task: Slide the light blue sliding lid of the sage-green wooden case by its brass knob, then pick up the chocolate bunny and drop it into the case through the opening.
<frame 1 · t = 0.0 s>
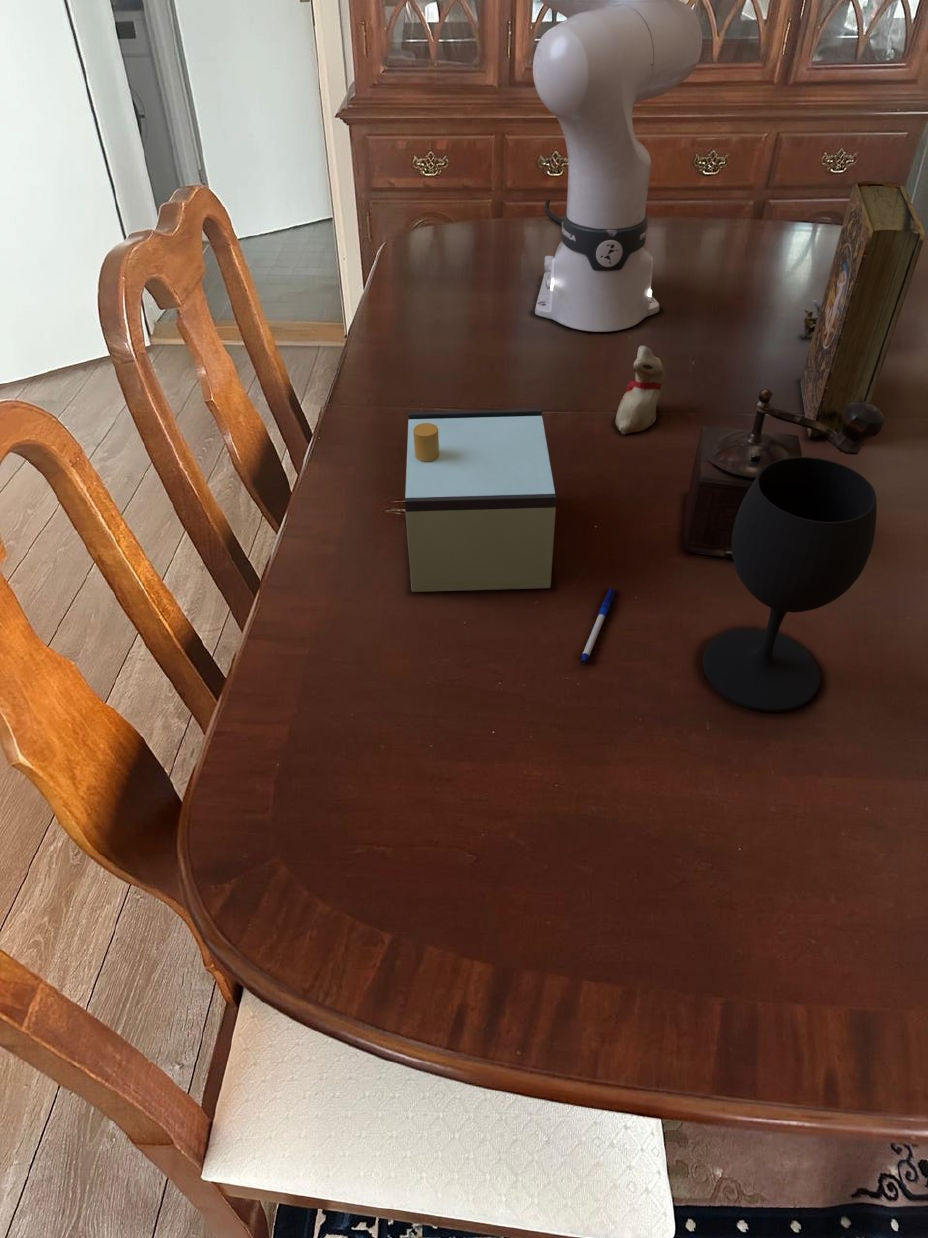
chocolate bunny: (636, 420, 113), on the table
ballpoint pen: (598, 628, 86), on the table
case: (478, 540, 96), on the table
book: (825, 411, 114), on the table
wine glass: (759, 671, 81), on the table
eagle figurine: (831, 344, 127), on the table
vintage coffee grinder: (756, 534, 96), on the table
light blue sliding lid: (477, 443, 87), point 12 cm above the table, slide at 0.0 cm
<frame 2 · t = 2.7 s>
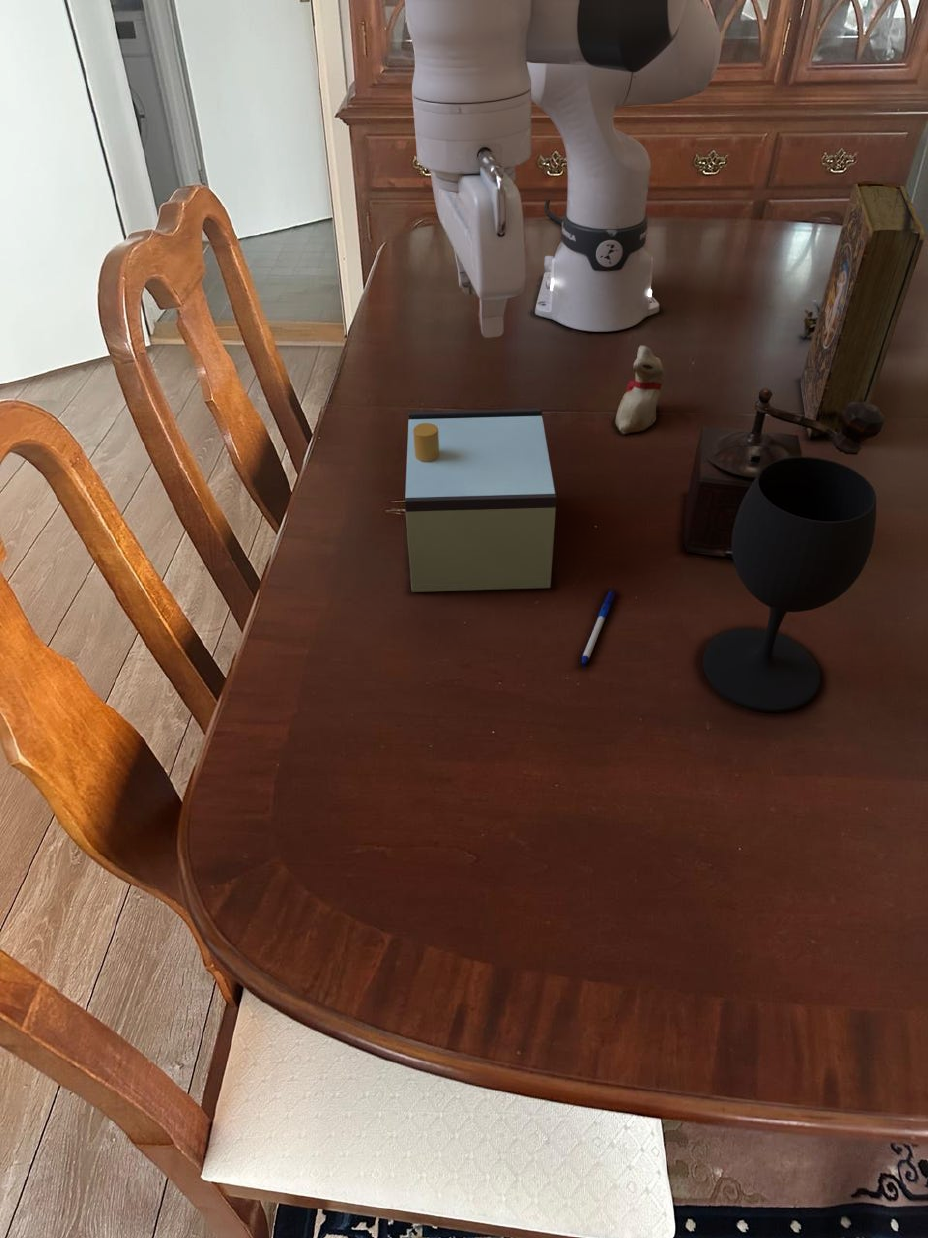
hand: (480, 311, 77), 26 cm above the table, tool pointing down, fingers open, 8 cm apart
nothing on the table moved.
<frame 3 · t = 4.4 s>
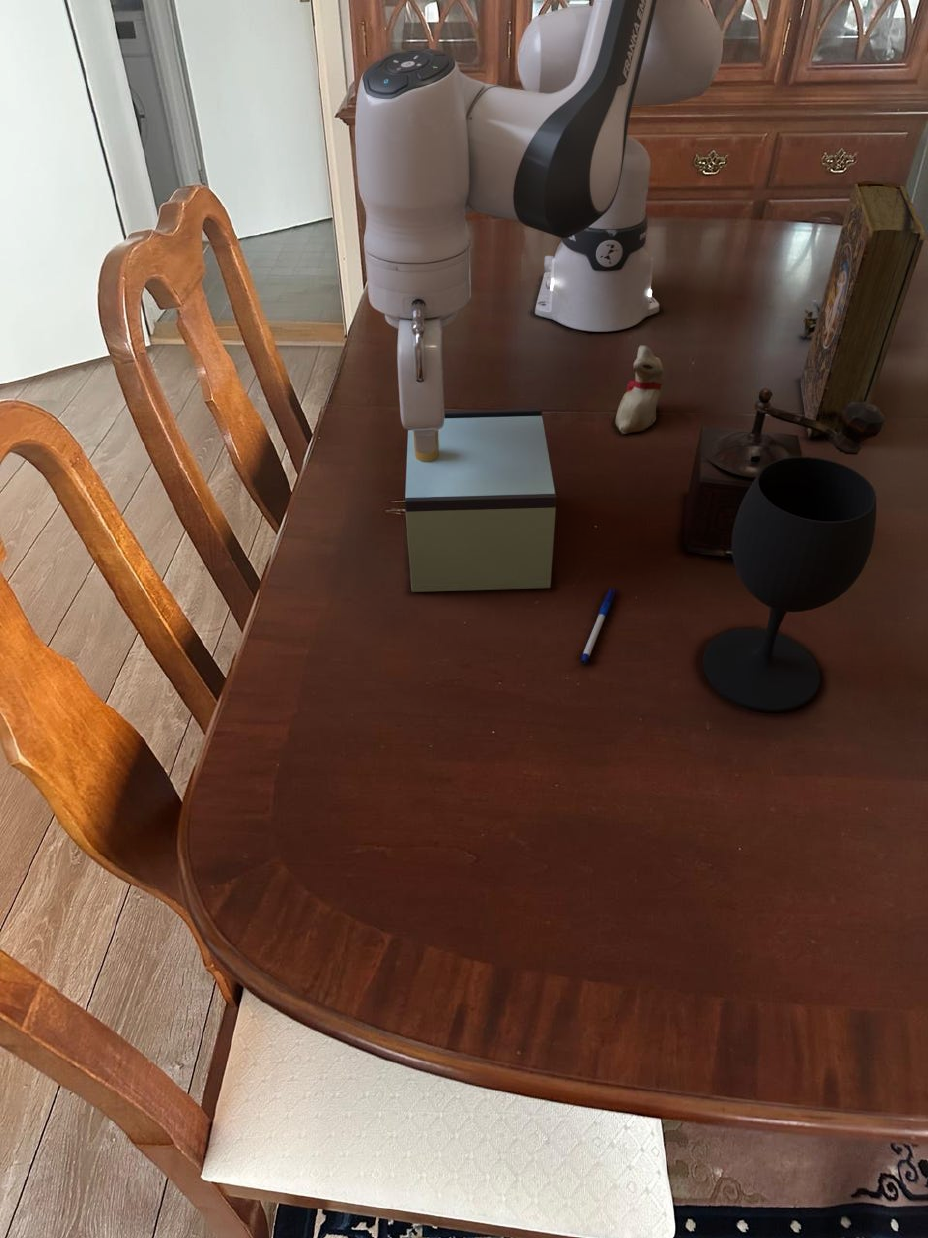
hand: (426, 421, 85), 15 cm above the table, tool pointing down, fingers open, 8 cm apart
nothing on the table moved.
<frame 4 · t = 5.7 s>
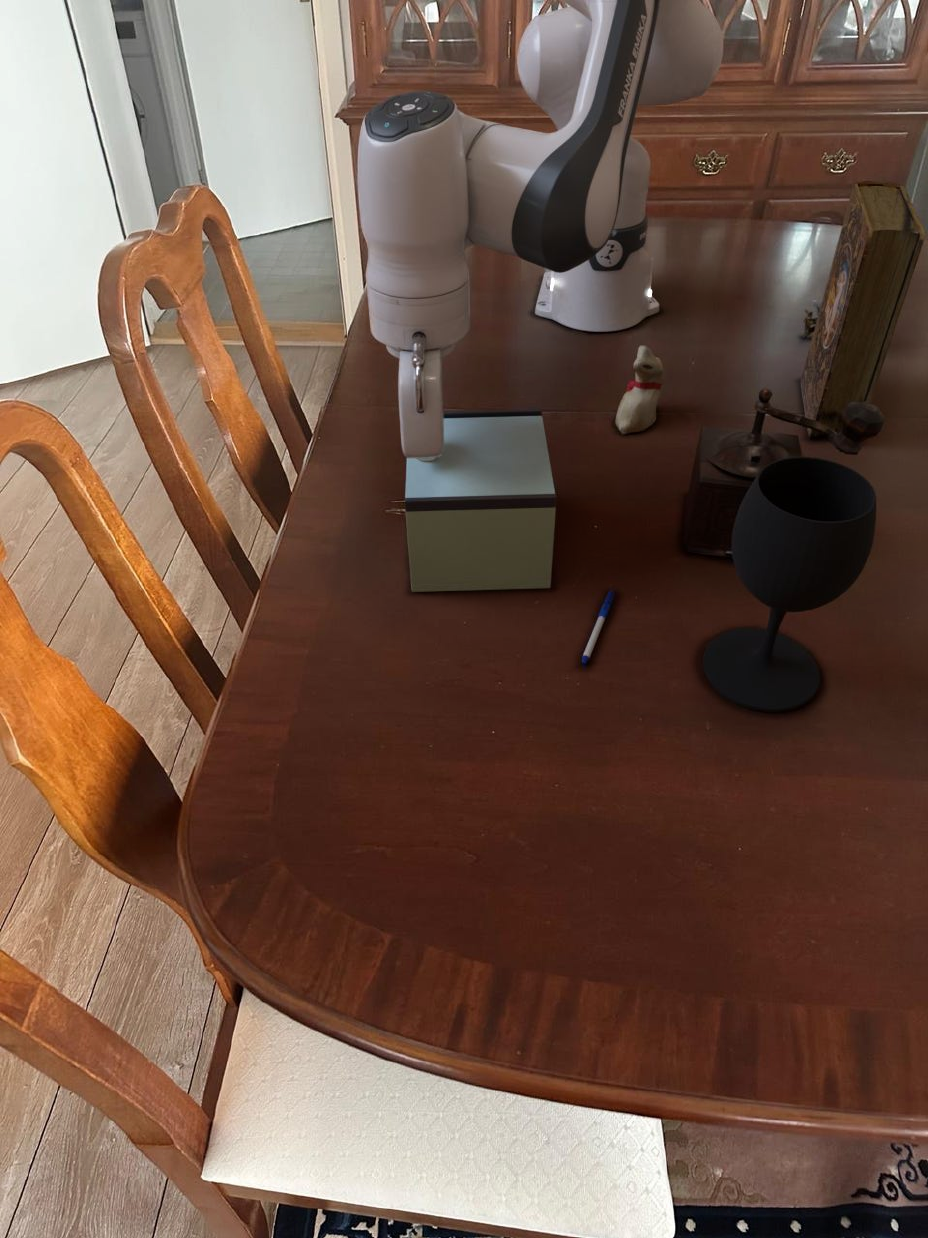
hand: (426, 445, 87), 12 cm above the table, tool pointing down, fingers closed on light blue sliding lid, 2 cm apart
light blue sliding lid: (477, 443, 87), point 12 cm above the table, slide at 0.0 cm, touching gripper
everything else where it was.
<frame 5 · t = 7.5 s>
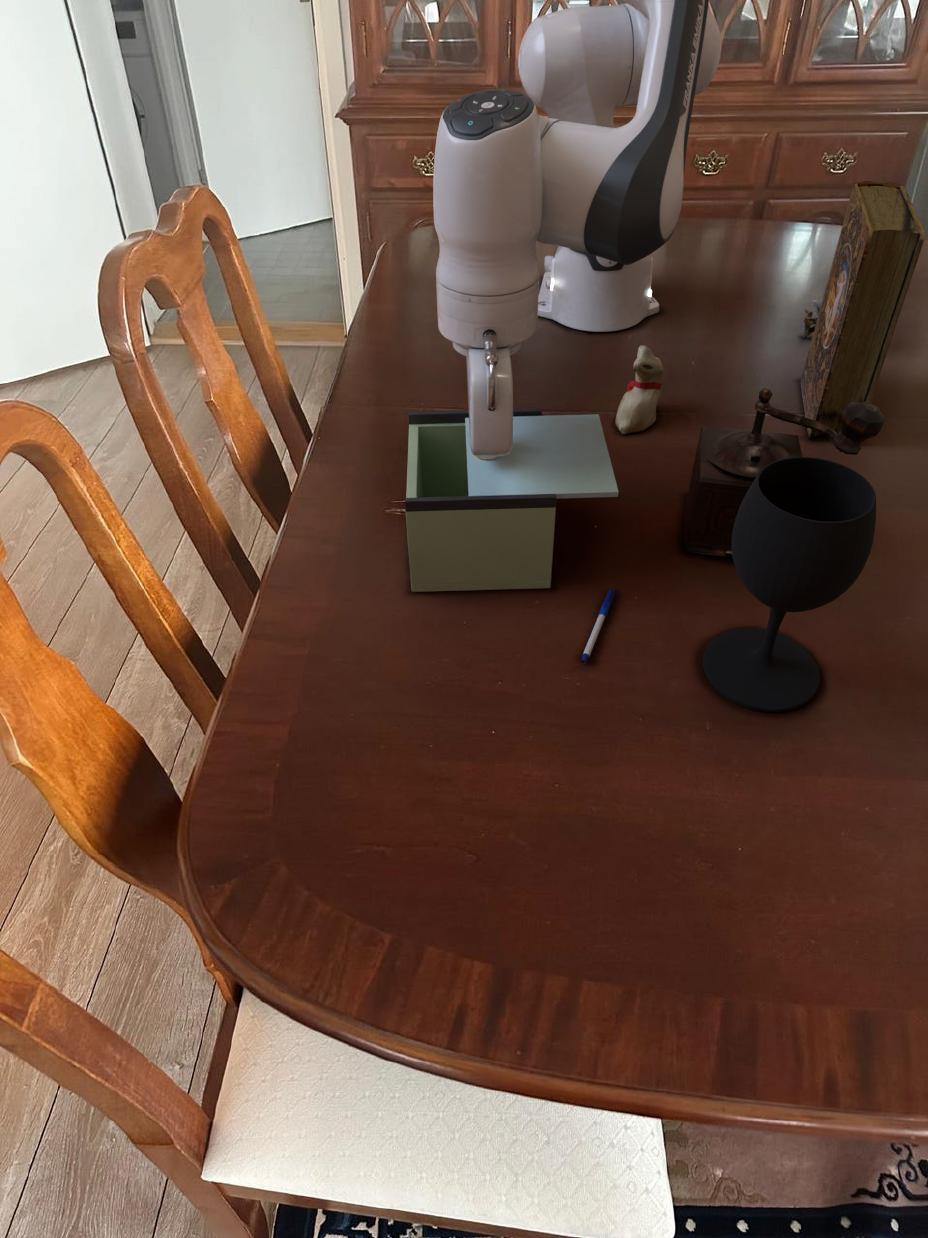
hand: (487, 444, 87), 12 cm above the table, tool pointing down, fingers closed on light blue sliding lid, 2 cm apart
light blue sliding lid: (538, 442, 87), point 12 cm above the table, slide at 5.9 cm, touching gripper
everything else where it was.
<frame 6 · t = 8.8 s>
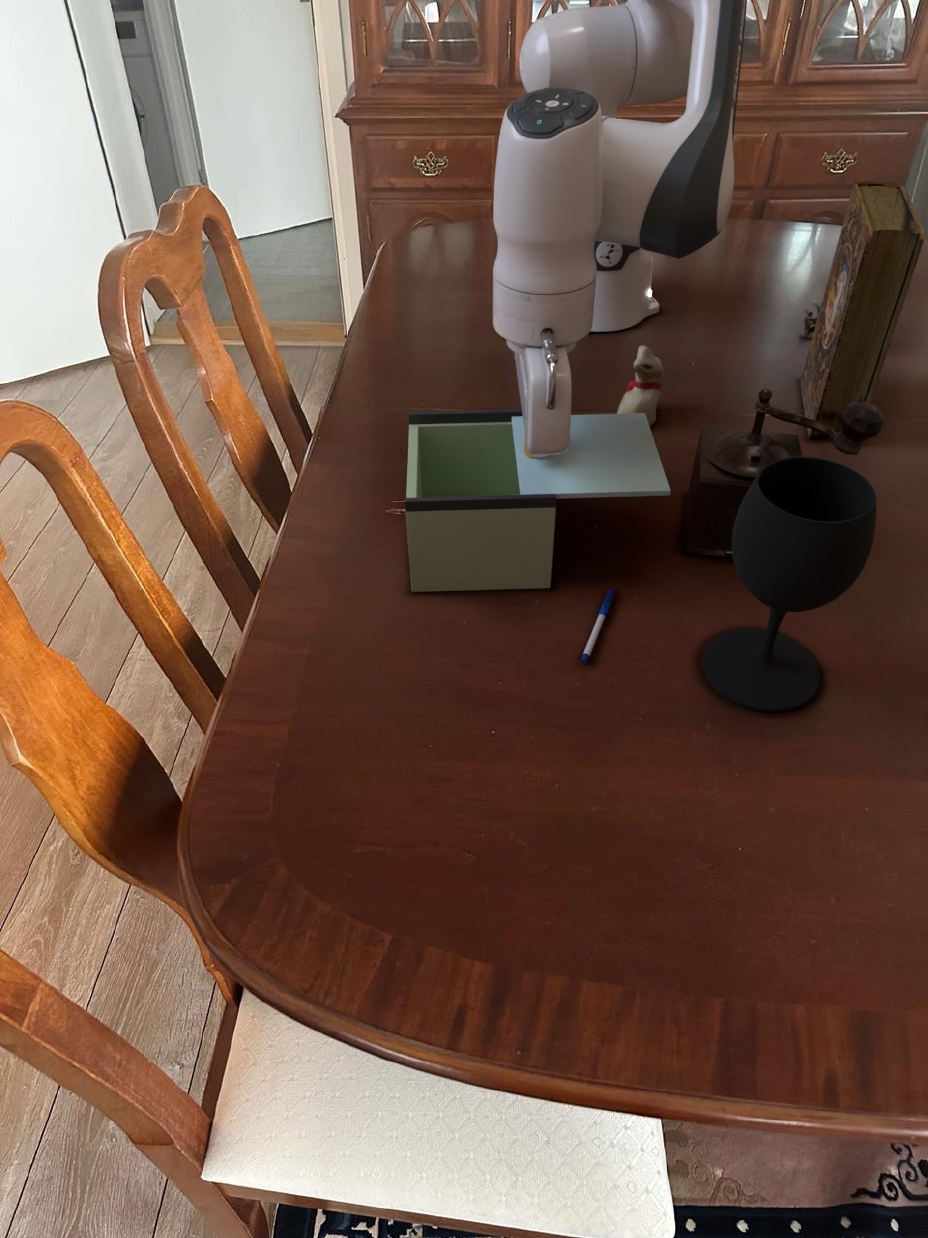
hand: (536, 442, 88), 12 cm above the table, tool pointing down, fingers closed on light blue sliding lid, 2 cm apart
light blue sliding lid: (587, 440, 87), point 12 cm above the table, slide at 10.8 cm, touching gripper
everything else where it was.
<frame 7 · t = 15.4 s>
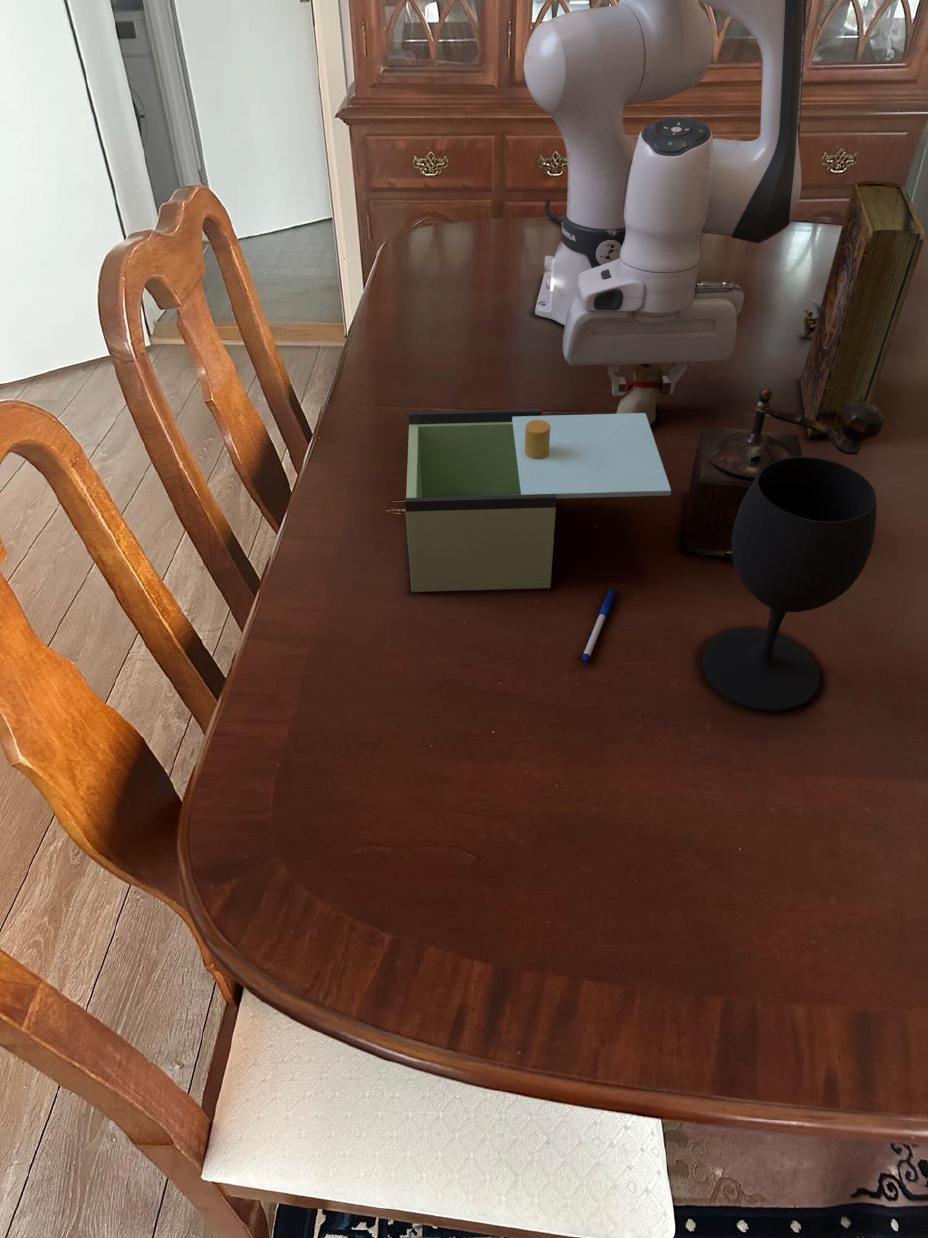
hand: (641, 392, 111), 4 cm above the table, tool pointing down, fingers closed on chocolate bunny, 4 cm apart
chocolate bunny: (636, 419, 113), on the table, touching gripper
light blue sliding lid: (588, 440, 87), point 12 cm above the table, slide at 10.9 cm
everything else where it was.
when the fingers open (12 cm above the table, at t = 23.1 s): chocolate bunny drops 7 cm, resting on case.
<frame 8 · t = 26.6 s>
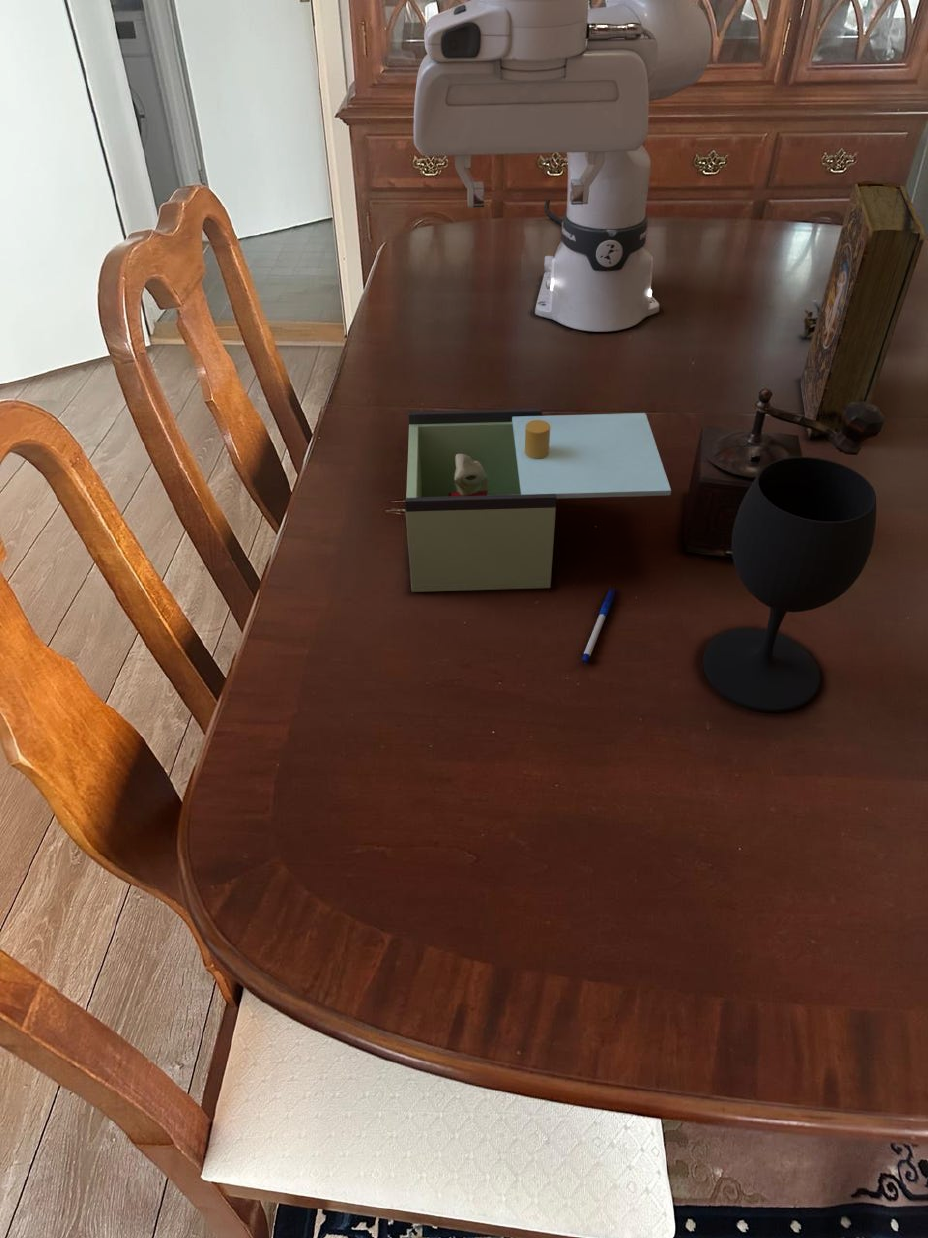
hand: (527, 204, 82), 31 cm above the table, tool pointing down, fingers open, 8 cm apart
chocolate bunny: (466, 534, 95), point 1 cm above the table, touching case
everything else where it was.
at the end: light blue sliding lid slide at 10.9 cm; chocolate bunny inside the target area on the case (1.2 cm from its centre), point 0.8 cm above the case's base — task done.
